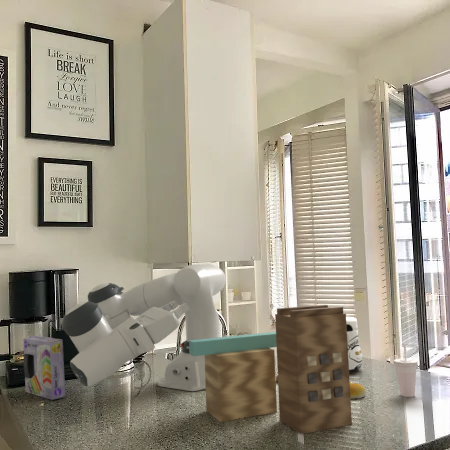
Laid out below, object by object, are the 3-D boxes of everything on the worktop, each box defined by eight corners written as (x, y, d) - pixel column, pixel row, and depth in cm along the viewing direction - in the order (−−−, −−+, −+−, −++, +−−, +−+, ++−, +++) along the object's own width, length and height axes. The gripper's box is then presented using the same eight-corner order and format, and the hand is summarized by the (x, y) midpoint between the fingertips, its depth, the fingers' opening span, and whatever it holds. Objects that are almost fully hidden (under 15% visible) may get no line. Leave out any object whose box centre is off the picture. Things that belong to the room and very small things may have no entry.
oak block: (220, 421, 117) (217, 356, 119) (206, 410, 126) (204, 349, 128) (277, 412, 123) (274, 349, 125) (260, 402, 133) (257, 344, 134)
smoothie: (420, 393, 136) (417, 343, 137) (419, 399, 130) (415, 347, 131) (396, 391, 139) (393, 342, 140) (394, 397, 133) (391, 346, 134)
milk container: (369, 375, 159) (366, 321, 160) (317, 376, 159) (315, 322, 160) (355, 364, 176) (353, 315, 177) (309, 365, 176) (306, 316, 178)
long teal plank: (193, 356, 120) (193, 342, 120) (189, 354, 123) (189, 340, 123) (284, 346, 129) (283, 333, 130) (277, 344, 133) (277, 331, 133)
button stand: (302, 434, 107) (296, 311, 109) (279, 420, 116) (274, 308, 119) (353, 424, 112) (347, 307, 114) (327, 412, 122) (322, 304, 124)
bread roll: (356, 401, 131) (355, 387, 131) (329, 395, 137) (328, 381, 138) (372, 395, 136) (371, 381, 136) (345, 389, 143) (344, 376, 143)
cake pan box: (22, 391, 153) (21, 336, 155) (37, 388, 157) (36, 334, 158) (50, 402, 140) (50, 341, 142) (66, 398, 144) (65, 339, 145)
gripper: (133, 340, 126) (176, 311, 131) (151, 353, 107) (200, 318, 112) (121, 320, 125) (164, 292, 130) (137, 329, 106) (187, 295, 111)
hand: (181, 304), depth 121 cm, fingers open, 8 cm apart
